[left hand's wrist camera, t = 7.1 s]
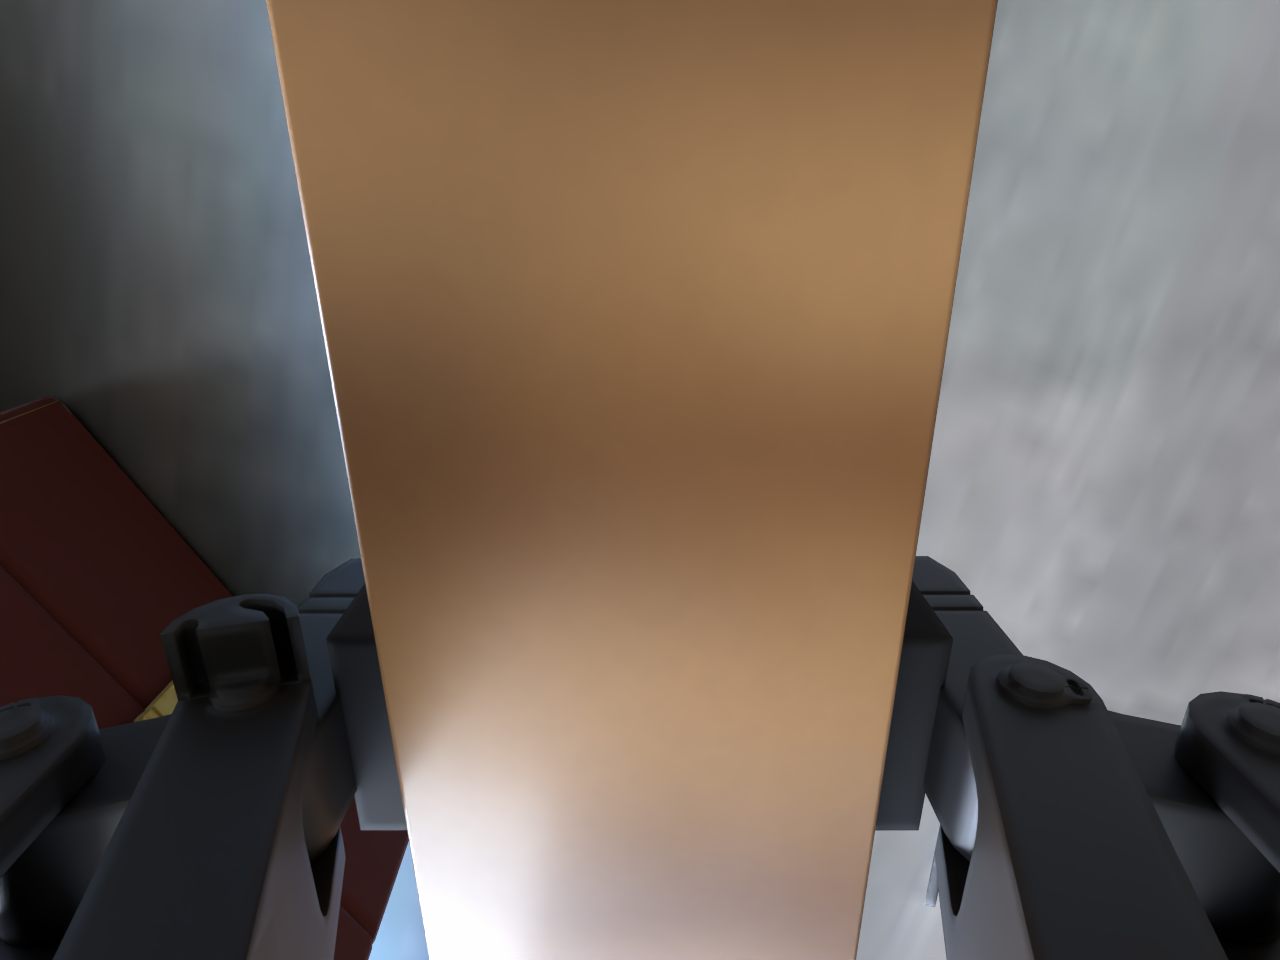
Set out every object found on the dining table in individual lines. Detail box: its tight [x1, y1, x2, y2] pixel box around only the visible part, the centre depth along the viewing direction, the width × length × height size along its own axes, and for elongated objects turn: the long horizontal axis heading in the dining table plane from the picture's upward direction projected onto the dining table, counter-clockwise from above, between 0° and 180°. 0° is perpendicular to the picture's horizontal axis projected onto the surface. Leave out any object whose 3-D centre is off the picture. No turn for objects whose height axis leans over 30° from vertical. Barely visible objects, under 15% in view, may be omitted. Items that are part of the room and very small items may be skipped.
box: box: [0, 397, 409, 960], centre depth 24 cm, size 21×16×10 cm
